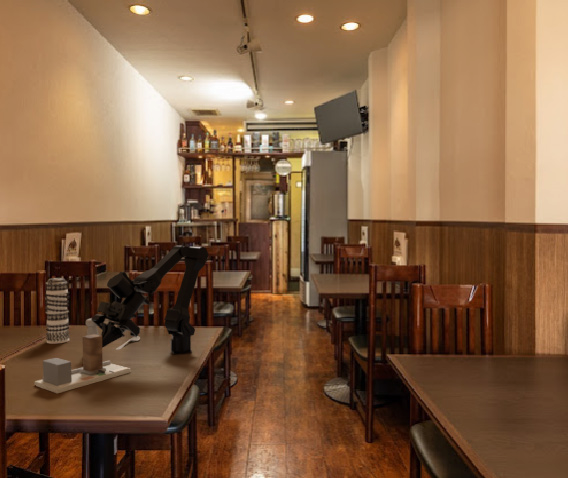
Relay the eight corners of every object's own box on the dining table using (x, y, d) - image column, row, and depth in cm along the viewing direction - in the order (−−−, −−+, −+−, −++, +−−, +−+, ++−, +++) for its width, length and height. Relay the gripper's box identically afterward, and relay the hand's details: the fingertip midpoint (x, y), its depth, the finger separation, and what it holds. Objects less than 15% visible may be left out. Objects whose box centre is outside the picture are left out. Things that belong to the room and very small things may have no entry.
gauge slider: (94, 367, 158) (93, 333, 157) (111, 372, 152) (110, 337, 152) (79, 371, 154) (79, 336, 153) (96, 376, 148) (96, 340, 148)
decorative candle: (73, 341, 200) (71, 278, 199) (47, 345, 195) (46, 280, 194) (68, 337, 207) (66, 276, 207) (43, 340, 202) (42, 278, 201)
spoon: (142, 339, 204) (142, 335, 204) (118, 352, 184) (118, 348, 184) (133, 339, 205) (133, 335, 205) (107, 352, 184) (107, 348, 184)
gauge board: (107, 366, 165) (107, 344, 165) (130, 372, 158) (130, 349, 157) (34, 385, 146) (34, 360, 145) (57, 393, 138) (56, 367, 138)
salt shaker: (95, 357, 175) (94, 320, 175) (80, 357, 176) (79, 320, 176) (104, 353, 181) (103, 317, 180) (90, 353, 182) (89, 317, 182)
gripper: (96, 289, 165) (64, 328, 156) (131, 293, 154) (100, 336, 145) (117, 310, 172) (88, 349, 163) (152, 315, 160) (123, 357, 152)
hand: (99, 347), depth 156 cm, fingers closed, pressing on gauge slider
